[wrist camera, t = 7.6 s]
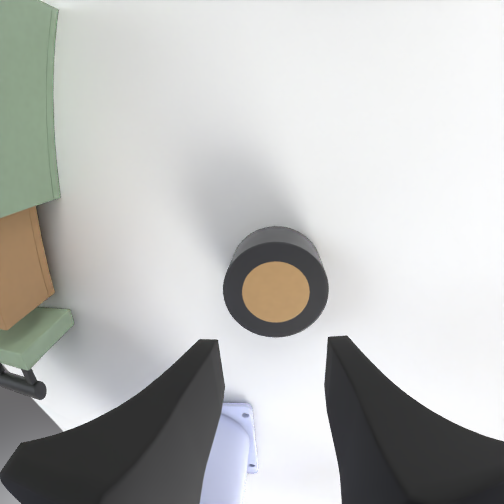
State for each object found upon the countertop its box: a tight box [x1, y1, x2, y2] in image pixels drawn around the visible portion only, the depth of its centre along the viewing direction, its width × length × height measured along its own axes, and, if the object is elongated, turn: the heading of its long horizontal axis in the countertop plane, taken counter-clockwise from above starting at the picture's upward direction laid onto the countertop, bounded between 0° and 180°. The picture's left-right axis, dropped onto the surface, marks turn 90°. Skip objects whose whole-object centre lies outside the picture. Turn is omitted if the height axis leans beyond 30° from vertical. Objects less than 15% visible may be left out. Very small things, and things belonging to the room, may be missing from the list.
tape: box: [223, 226, 329, 337], centre depth 16 cm, size 5×5×3 cm
